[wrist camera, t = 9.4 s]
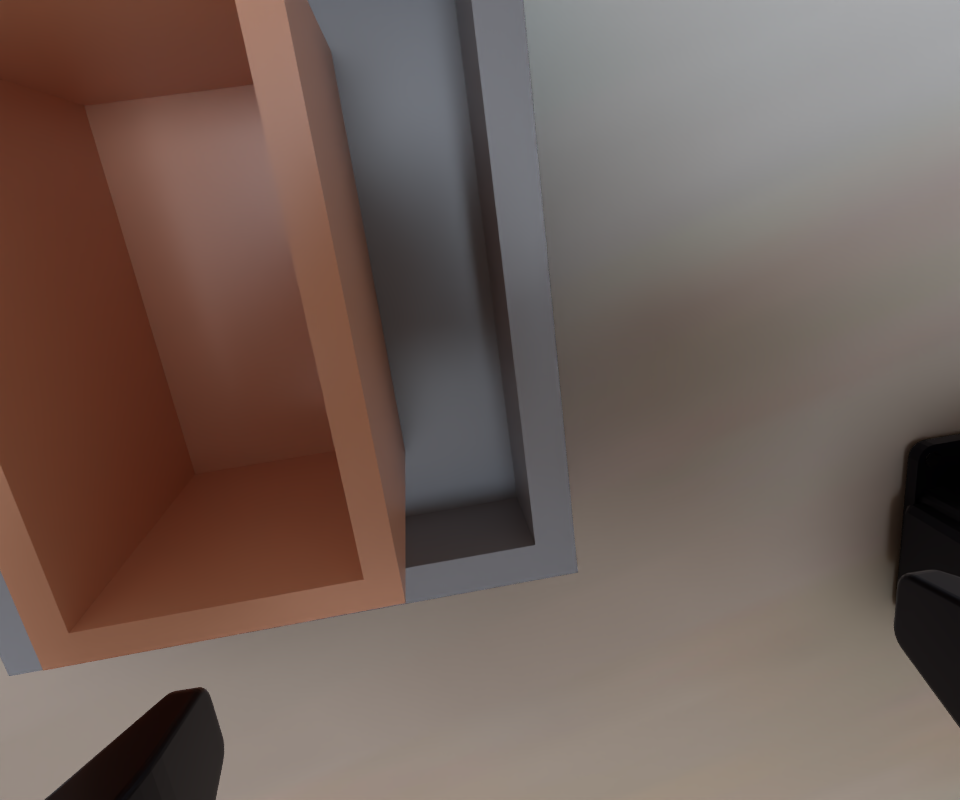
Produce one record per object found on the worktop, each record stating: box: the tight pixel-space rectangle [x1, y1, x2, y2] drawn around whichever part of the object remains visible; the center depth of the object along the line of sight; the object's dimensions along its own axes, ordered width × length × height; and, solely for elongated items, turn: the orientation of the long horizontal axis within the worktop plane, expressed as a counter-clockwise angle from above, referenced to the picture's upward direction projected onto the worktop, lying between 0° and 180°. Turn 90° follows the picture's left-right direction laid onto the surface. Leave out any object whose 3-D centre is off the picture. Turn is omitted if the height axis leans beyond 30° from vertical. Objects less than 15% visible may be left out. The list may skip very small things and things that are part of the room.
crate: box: [0, 0, 578, 676], centre depth 15 cm, size 14×16×4 cm
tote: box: [0, 0, 406, 670], centre depth 12 cm, size 6×10×7 cm, turn 8°
